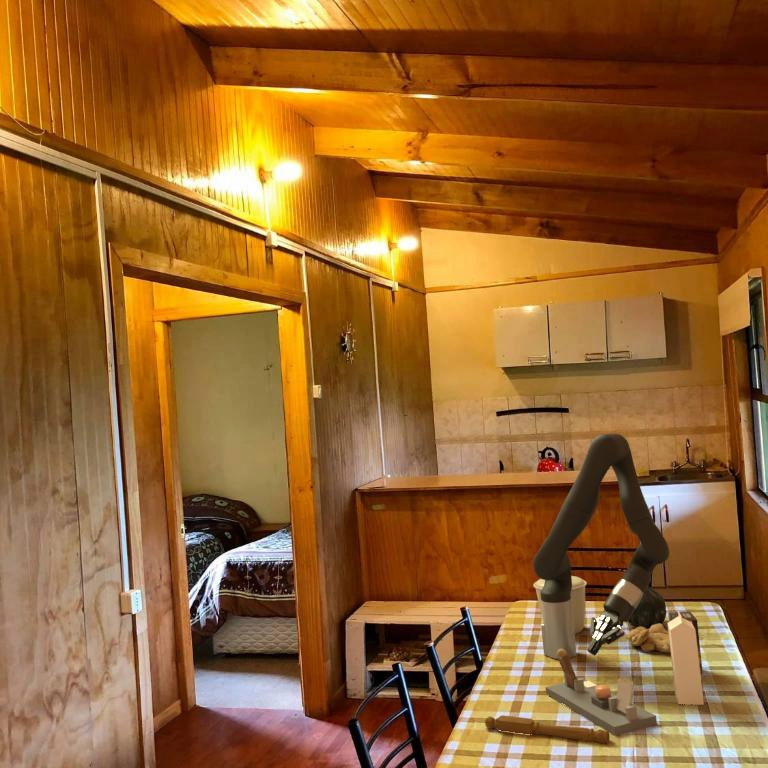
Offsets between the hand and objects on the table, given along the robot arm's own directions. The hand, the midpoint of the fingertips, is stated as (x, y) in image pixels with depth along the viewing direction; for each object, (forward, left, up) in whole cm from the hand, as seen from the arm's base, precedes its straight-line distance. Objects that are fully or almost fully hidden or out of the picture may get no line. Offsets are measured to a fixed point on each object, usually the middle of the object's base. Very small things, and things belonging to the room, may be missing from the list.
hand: (590, 653), depth 199 cm
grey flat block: (+15, -16, -8) cm, 23 cm away
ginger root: (+1, +40, -10) cm, 41 cm away
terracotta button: (+8, -12, -6) cm, 16 cm away
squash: (-9, +62, -10) cm, 63 cm away
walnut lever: (-3, -5, -8) cm, 10 cm away
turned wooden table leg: (+1, -30, -11) cm, 32 cm away
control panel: (+6, -10, -10) cm, 16 cm away
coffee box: (+18, +23, -10) cm, 30 cm away
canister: (-31, +45, -10) cm, 56 cm away
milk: (+24, +5, -10) cm, 26 cm away
